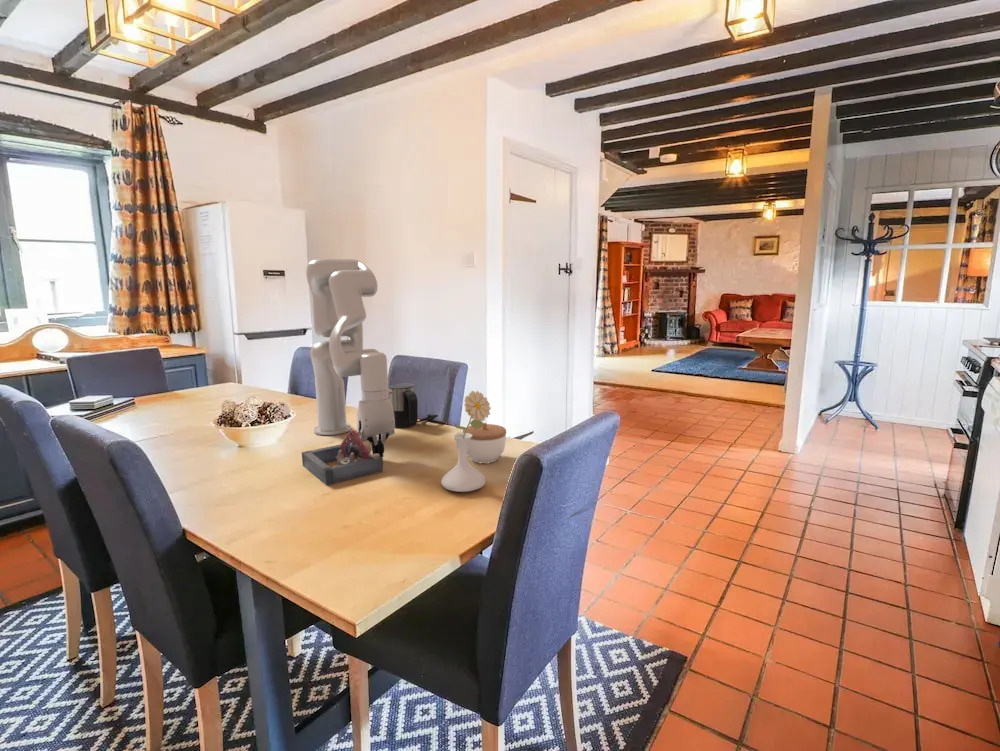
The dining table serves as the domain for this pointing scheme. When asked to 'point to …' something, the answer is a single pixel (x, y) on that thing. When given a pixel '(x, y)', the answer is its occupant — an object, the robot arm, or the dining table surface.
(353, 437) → the brake caliper
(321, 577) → the dining table surface
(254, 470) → the dining table surface
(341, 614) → the dining table surface
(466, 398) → the flower in vase
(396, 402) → the milk frother
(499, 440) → the lidded bowl
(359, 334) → the robot arm
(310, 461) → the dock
